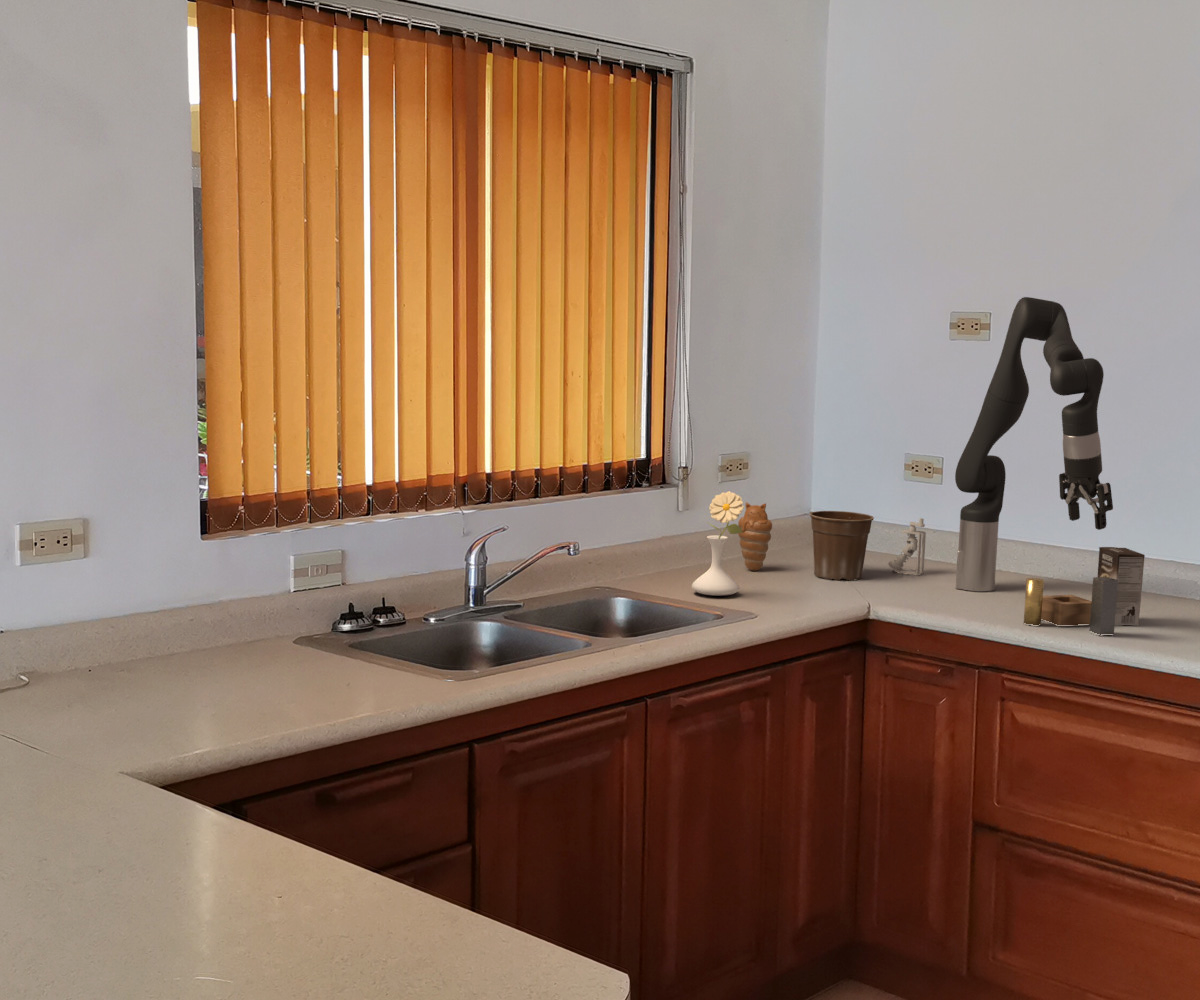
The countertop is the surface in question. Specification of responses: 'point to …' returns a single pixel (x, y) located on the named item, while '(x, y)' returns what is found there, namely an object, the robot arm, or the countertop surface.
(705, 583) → the flower in vase
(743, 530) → the cat ice cream
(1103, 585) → the square bit
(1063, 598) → the bore block
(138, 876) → the countertop surface
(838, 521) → the plant pot
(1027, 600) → the round bit
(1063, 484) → the robot arm
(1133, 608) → the coffee box
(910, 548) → the clamp
